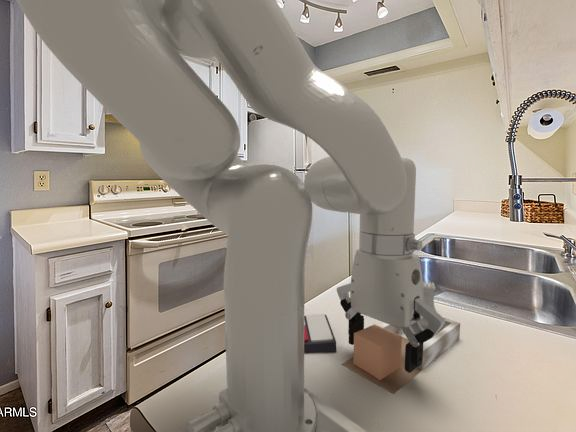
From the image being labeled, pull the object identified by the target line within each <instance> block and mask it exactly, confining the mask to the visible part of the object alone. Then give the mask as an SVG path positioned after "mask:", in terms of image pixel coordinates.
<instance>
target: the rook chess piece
mask: <svg viewBox="0 0 576 432" xmlns="http://www.w3.org/2000/svg"><path fill="white" fill-rule="evenodd" d="M436 289H437V287H436V286H435V282H431V281H430V280H429V281H428V282H427V280H426V281H423V294H424V302H425V303H426V304H427V305H428V306H429V307H431V308H432V309H433V310H434V311H436V312H437V313H438V311H437V309H436V306H435V300H434V299H435V298H434V297H435V295H436V294H435V293H434V292H435V291H436Z"/></svg>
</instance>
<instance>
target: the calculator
mask: <svg viewBox="0 0 576 432" xmlns="http://www.w3.org/2000/svg"><path fill="white" fill-rule="evenodd" d="M319 353H320V354H326V353H328V354H329V353H330V354H331V353H337V340H336V337H335V335H334V331H333V329H332V326H331V324H330V321H329V318H328V316H327V315H326V314H325V313H315V314H306V315H304V354H319Z"/></svg>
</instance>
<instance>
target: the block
mask: <svg viewBox="0 0 576 432" xmlns="http://www.w3.org/2000/svg"><path fill="white" fill-rule="evenodd" d="M402 337H403V336H402V335H401V334H399V335H398V334H396V333H393V332H391V331H389V330H387V329H384V328H382V327H380V326H379V325H377V324H371V325H369V326H368V327H364V329H363V330H360V331H358V332H356V333H354V345H353V356H352V357H353V364H355V365H356V366H358V367H359V368H361V369H363V370H364V371H366V372H368V373H369V374H371V375H373V376H374V377H376V378H378V379H379V380H381V379H383V378H384V377H386V376H388V375H389V374H391V373H392V372H394V371H396V370H397V369H399V368H401V346H402Z"/></svg>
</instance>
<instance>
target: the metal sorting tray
mask: <svg viewBox="0 0 576 432" xmlns="http://www.w3.org/2000/svg"><path fill="white" fill-rule="evenodd" d="M443 318H444V319H445V323H444V325H443V326H442V327H441V329H440V330H439V331H438V332H437V334H436V335H435V336H434V337H432V338H431V339H429V340H427V341H426V342H424V343H423V361H422V364H421V365H420V366H419V367H417V368H415V369H414V370H413V371H412V372H410V373H409V372H407V371H406V370H405V347H406V344H407V343H409V340H408V339H407V337H403V336H402V346H401V368H399V369H397V370H396V371H394V372H392V373H391V374H389V375H388V376H386V377H384V378H383V379H381V380H379V379H378V378H376V377H374V376H373V375H371V374H369V373H368V372H366V371H364V370H363V369H361V368H359V367H358V366H356V365H355V364H353V357H354V356H352V357H351V358H349V359H347V360H346V361H344V362H342V363H341V364H340V365H342V366H343V367H344V368H347V369H348V370H350V371H352V372H354V373H355V374H357V375H359V376H361V377H362V378H364V379H366V380H368V381H369V382H371V383H373V384H375V385H376V386H378V387H381V388H382V389H384V390H385V391H388V392H390V393H391V394H392V395H394V394H396V393H398V391H399V390H400V389H402V388H403V387H404V386H405V385H406V384H407V383H409V382H410V381H412V379H414V378H415V377H416V376H417V375H419V374H420V373H421V372H422V371H424V369H425V368H427V367H429V365H430V364H431V363H432V362H434V361H435V360H436V359H438V358H439V357H440V356H441V355H442V354H444V352H446V351H447V350H448V349H449V348H450V347H452V346H453V345H454V344H455V343H457V342H458V341H459V340H460V336H461V335H460V334H461V333H460V332H461V323H460V322H458V321H455V320H453V319H449V318H447V317H443ZM418 321H419V323H420V324H421V326H422V328H423V329H424V330H425V329H426V328H427V326H428V321H427V320H426V319H425V318H422V319H421V320H418ZM378 326H380V327H382V328H384V329H387V330H389V331H391V332H393V333H396V334H398V335H401V334H402V333H403V334H404V332H403V330H402V329H401V328H398V327H395V326H392V325H390V324H387V323H384V322H382V323H381V324H379V325H378Z"/></svg>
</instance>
